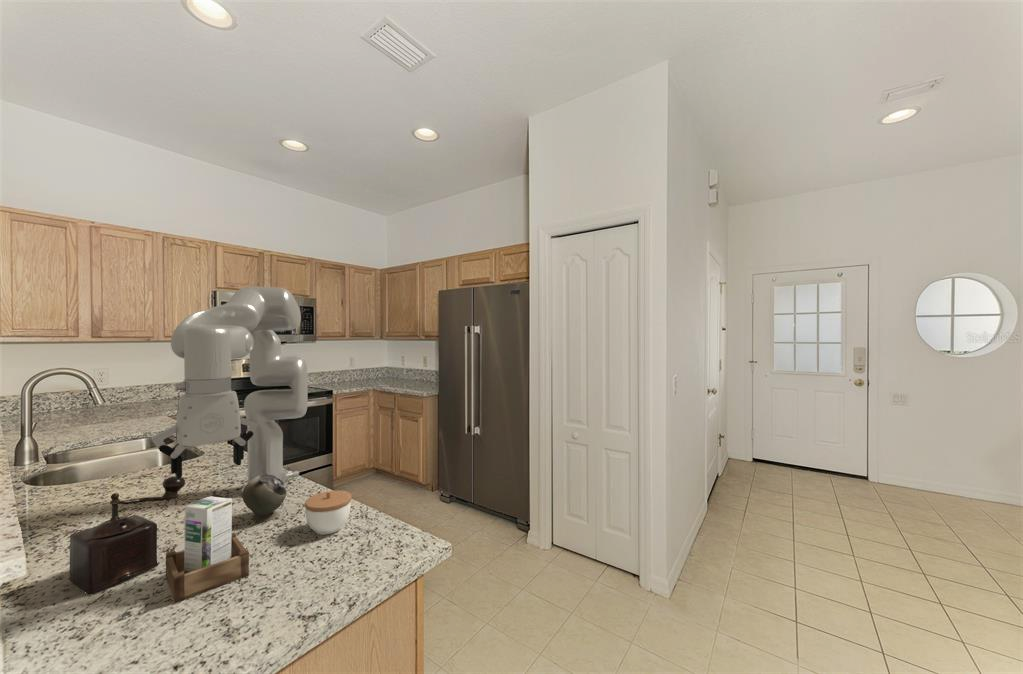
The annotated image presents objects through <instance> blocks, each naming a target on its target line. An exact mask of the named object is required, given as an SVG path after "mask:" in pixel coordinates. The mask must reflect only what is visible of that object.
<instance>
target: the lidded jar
mask: <svg viewBox="0 0 1023 674" xmlns="http://www.w3.org/2000/svg"><path fill="white" fill-rule="evenodd" d="M304 508H305V512H304V513H305V519H306V523H307V525H308V526H309V528H310V529H311V530H313V531H314V532H315V534H316V535H321V536H325V535H333V534H335V533H337V532H338V531H340V530H341V529H342V528H343V526H344V524H346V522H347V520H348V519H349V517H350V513H351V508H352V494H351V493H350V492H349V491H345V490H330V491H322V492H319V493H316V494H314V495H312V496H310V497H308V498H307V499H306V500H305V502H304Z"/></svg>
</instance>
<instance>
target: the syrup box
mask: <svg viewBox="0 0 1023 674" xmlns="http://www.w3.org/2000/svg"><path fill="white" fill-rule="evenodd" d="M184 509H185V510H184V549H183V550H184V574H186V573H189V572H192V571H195V570H198V569H201V568H204V567H207V566H210V565H213V564H215V563H218V562H221V561H224V560H227V559H230V558H231V537H232V534H231V533H233V532H232V530H233V529H232V526H233V525H232V522H233V520H232V519H233V515H232V514H233V497H232V498H231V497H230V498H227V497H219V496H207V497H204V498H201V499H198V500H195V501H193V502H191V503H189V504H188V505H185V507H184Z"/></svg>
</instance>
